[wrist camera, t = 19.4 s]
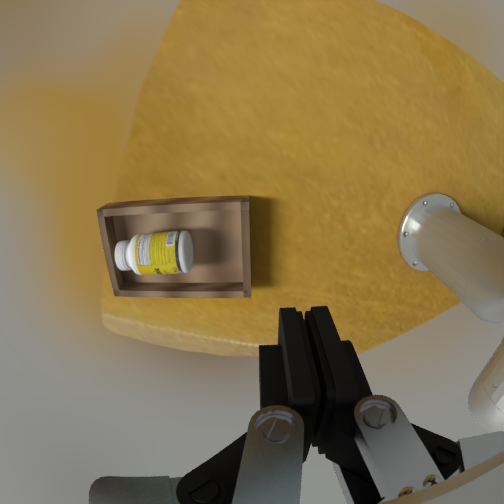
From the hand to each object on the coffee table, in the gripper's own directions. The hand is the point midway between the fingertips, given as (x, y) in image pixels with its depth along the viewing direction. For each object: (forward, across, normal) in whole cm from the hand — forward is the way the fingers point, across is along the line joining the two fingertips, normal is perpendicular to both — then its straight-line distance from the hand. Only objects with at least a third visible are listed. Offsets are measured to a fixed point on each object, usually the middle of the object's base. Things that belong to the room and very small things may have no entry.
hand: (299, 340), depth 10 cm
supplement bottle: (+25, +9, +7) cm, 28 cm away
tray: (+29, +12, +8) cm, 32 cm away
